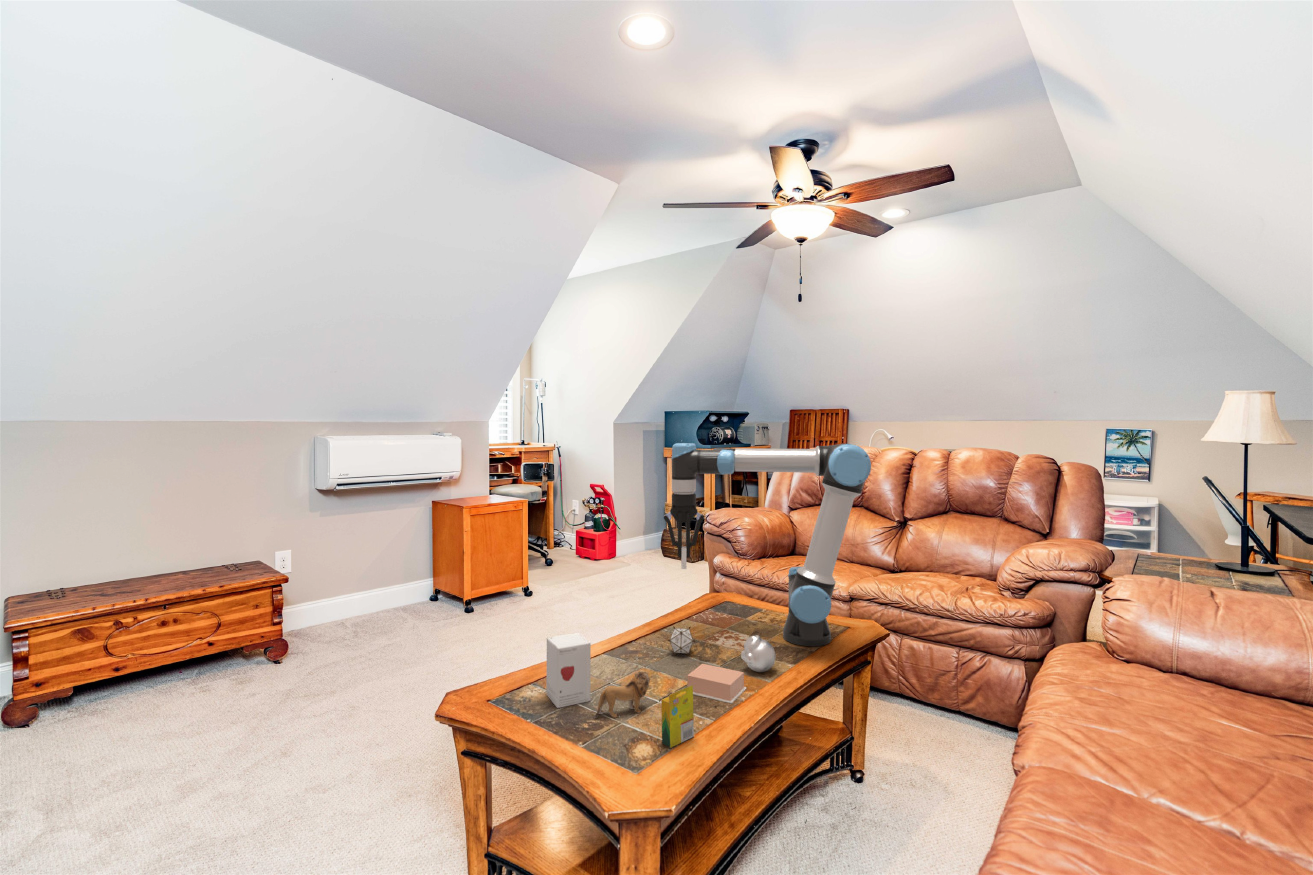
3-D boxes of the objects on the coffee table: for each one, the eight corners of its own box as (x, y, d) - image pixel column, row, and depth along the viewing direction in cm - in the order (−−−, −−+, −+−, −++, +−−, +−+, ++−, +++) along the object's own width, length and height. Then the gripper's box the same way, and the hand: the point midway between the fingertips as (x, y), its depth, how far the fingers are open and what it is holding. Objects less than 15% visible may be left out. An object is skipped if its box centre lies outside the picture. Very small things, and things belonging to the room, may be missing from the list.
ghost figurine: (744, 662, 180) (744, 628, 180) (777, 667, 177) (777, 632, 177) (738, 674, 172) (738, 638, 171) (772, 679, 168) (772, 642, 168)
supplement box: (556, 709, 151) (556, 648, 151) (545, 694, 159) (545, 636, 159) (591, 701, 155) (591, 642, 155) (579, 687, 163) (578, 631, 163)
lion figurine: (643, 700, 155) (643, 665, 155) (654, 709, 151) (654, 672, 151) (590, 715, 148) (589, 677, 148) (599, 724, 143) (599, 685, 143)
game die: (685, 664, 189) (703, 635, 191) (684, 664, 181) (702, 634, 183) (661, 646, 191) (679, 618, 193) (658, 646, 183) (677, 616, 185)
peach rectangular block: (702, 678, 168) (743, 687, 162) (687, 690, 161) (730, 700, 155) (702, 663, 168) (743, 672, 162) (687, 675, 160) (730, 684, 155)
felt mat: (746, 688, 162) (746, 687, 162) (731, 703, 154) (731, 702, 154) (705, 679, 168) (705, 677, 168) (688, 692, 160) (688, 691, 160)
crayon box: (685, 732, 140) (685, 680, 139) (694, 737, 137) (694, 685, 137) (660, 743, 135) (660, 690, 135) (669, 748, 133) (669, 694, 132)
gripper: (703, 491, 197) (703, 565, 197) (662, 491, 197) (662, 565, 197) (705, 494, 189) (705, 570, 190) (663, 494, 189) (663, 570, 190)
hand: (683, 567), depth 194 cm, fingers closed
